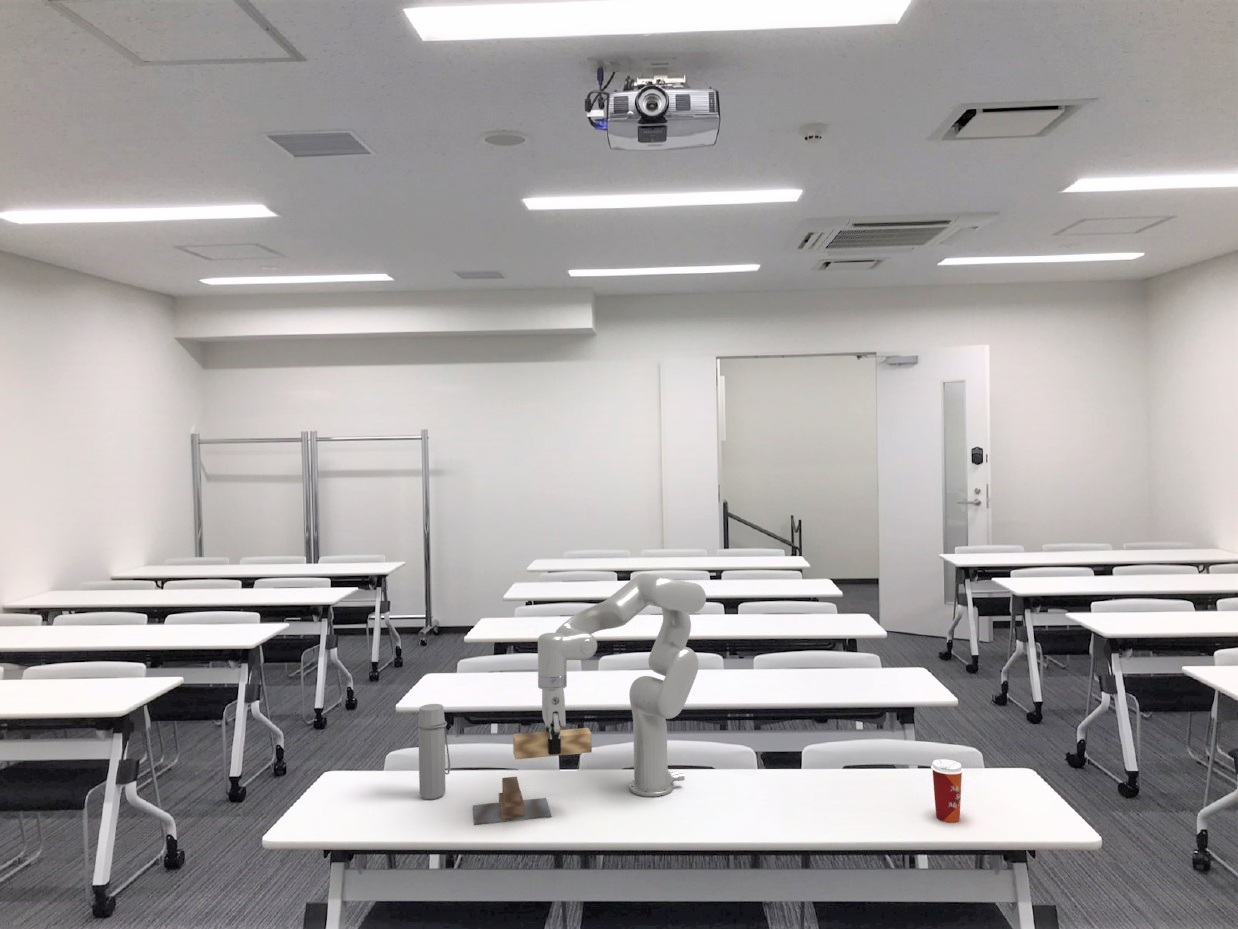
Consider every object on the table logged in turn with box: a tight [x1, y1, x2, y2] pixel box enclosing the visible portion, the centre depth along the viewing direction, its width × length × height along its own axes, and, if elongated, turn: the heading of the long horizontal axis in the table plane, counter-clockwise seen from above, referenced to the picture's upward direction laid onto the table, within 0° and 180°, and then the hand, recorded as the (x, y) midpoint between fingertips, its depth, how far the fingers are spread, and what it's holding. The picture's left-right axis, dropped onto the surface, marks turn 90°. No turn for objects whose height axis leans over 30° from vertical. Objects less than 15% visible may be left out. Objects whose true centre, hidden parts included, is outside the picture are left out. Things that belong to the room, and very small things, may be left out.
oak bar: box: [512, 727, 593, 760], centre depth 221 cm, size 20×5×5 cm, turn 104°
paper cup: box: [930, 758, 964, 824], centre depth 216 cm, size 8×8×14 cm
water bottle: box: [417, 703, 451, 800], centre depth 237 cm, size 9×8×25 cm
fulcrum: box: [472, 776, 552, 826], centre depth 225 cm, size 20×12×7 cm, turn 102°
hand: (552, 749), depth 221 cm, fingers closed on oak bar, 5 cm apart
